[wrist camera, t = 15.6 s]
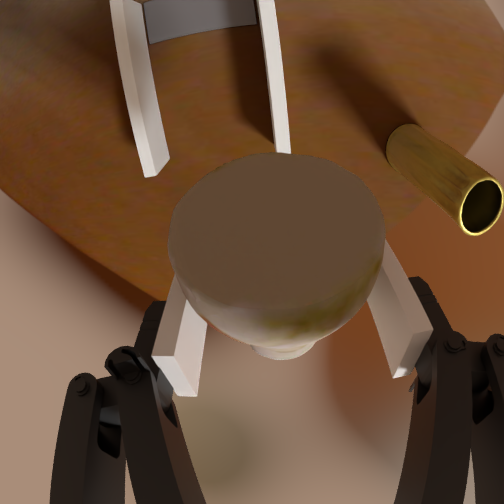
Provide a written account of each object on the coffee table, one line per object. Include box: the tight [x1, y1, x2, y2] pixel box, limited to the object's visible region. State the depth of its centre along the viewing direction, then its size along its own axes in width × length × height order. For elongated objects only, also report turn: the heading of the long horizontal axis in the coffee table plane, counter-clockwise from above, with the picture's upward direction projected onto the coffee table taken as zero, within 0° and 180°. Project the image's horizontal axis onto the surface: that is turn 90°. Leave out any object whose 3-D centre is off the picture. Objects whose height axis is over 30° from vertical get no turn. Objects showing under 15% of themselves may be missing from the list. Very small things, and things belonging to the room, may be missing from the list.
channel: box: [110, 0, 291, 177], centre depth 23 cm, size 18×14×5 cm
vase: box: [386, 124, 504, 236], centre depth 23 cm, size 6×6×14 cm
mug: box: [168, 152, 385, 360], centre depth 12 cm, size 8×10×10 cm
